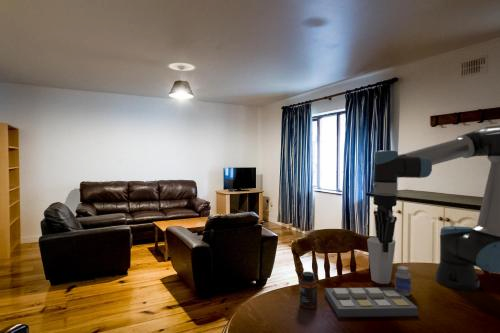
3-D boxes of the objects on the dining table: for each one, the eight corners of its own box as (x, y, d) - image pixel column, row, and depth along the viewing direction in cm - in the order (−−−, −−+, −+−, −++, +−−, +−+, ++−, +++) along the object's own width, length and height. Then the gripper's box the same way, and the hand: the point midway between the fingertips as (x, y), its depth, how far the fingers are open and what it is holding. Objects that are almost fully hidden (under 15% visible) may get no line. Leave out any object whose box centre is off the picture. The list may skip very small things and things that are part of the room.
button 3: (361, 294, 112) (361, 287, 112) (366, 299, 107) (366, 293, 107) (349, 294, 112) (349, 288, 111) (353, 300, 107) (353, 293, 107)
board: (393, 294, 116) (393, 286, 116) (417, 315, 100) (417, 307, 100) (325, 295, 115) (325, 287, 115) (338, 316, 99) (338, 308, 99)
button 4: (344, 294, 112) (344, 288, 111) (349, 300, 107) (349, 293, 107) (332, 294, 111) (332, 288, 111) (336, 300, 107) (336, 293, 107)
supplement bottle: (318, 303, 109) (318, 271, 109) (316, 310, 103) (316, 277, 103) (301, 300, 111) (301, 269, 111) (298, 308, 105) (298, 275, 105)
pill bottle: (412, 296, 114) (413, 270, 113) (397, 295, 115) (397, 269, 114) (408, 290, 119) (408, 265, 119) (393, 289, 120) (393, 264, 120)
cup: (371, 274, 136) (372, 235, 136) (396, 279, 130) (397, 239, 130) (364, 282, 127) (365, 241, 127) (391, 288, 121) (391, 245, 121)
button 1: (393, 296, 112) (394, 290, 112) (400, 302, 107) (400, 295, 107) (382, 297, 112) (382, 290, 112) (387, 302, 107) (387, 295, 107)
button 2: (377, 294, 112) (377, 287, 112) (383, 299, 107) (383, 292, 107) (365, 294, 112) (365, 287, 112) (370, 299, 107) (370, 293, 107)
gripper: (367, 192, 115) (365, 254, 116) (382, 196, 102) (381, 266, 103) (386, 192, 115) (385, 254, 116) (405, 196, 102) (403, 266, 103)
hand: (383, 260), depth 109 cm, fingers closed
